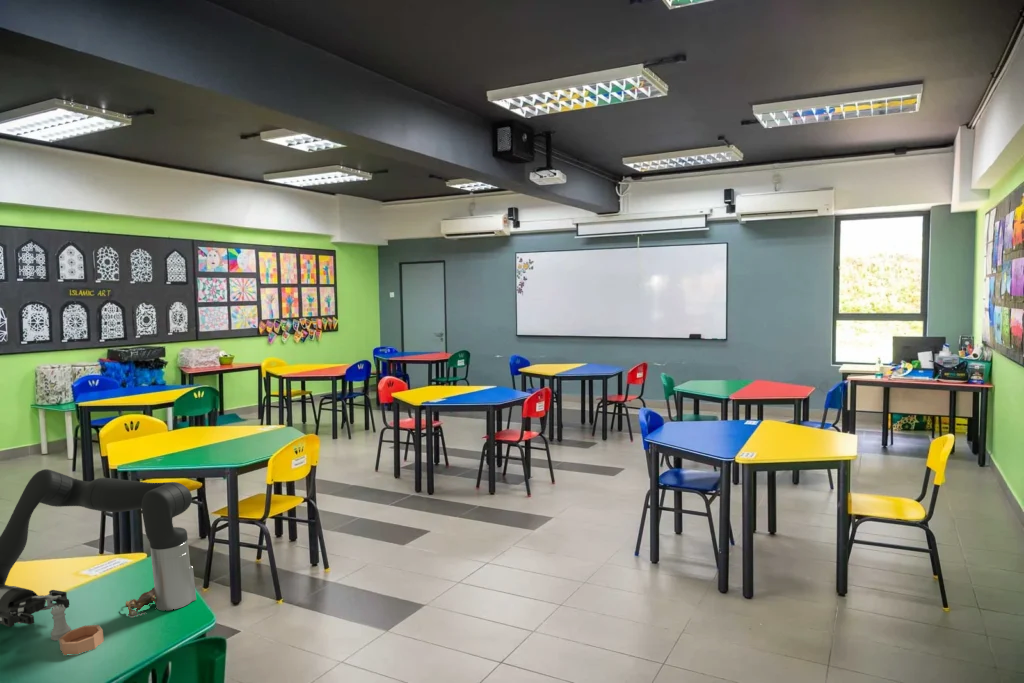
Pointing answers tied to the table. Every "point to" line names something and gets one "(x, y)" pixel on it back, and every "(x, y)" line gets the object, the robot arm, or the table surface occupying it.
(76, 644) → the dish
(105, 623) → the table surface
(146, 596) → the frog figurine
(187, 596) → the robot arm
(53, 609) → the rook chess piece
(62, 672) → the table surface
